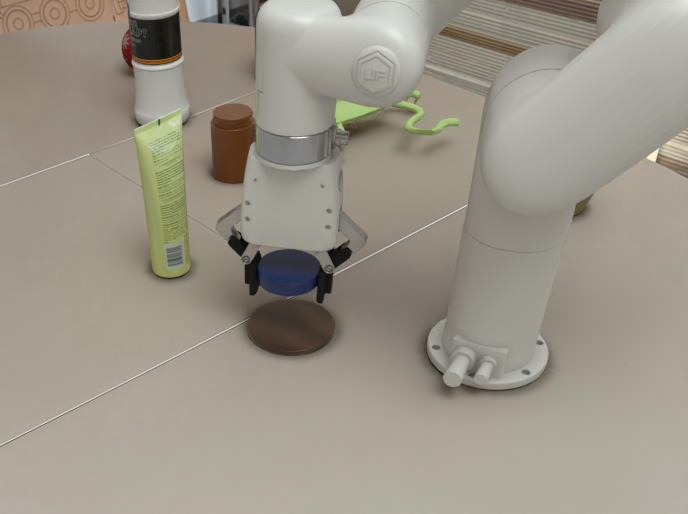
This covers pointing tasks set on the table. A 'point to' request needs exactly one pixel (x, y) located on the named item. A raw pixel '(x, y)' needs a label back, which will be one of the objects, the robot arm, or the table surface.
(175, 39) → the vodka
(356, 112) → the figurine
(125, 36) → the christmas ornament
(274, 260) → the jar lid
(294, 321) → the coaster
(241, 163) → the jam jar
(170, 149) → the tube
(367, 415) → the table surface
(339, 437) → the table surface
